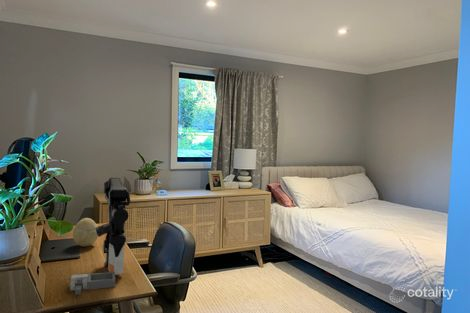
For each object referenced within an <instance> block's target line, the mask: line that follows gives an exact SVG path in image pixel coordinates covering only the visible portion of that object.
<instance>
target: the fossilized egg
mask: <svg viewBox="0 0 470 313" xmlns="http://www.w3.org/2000/svg"><path fill="white" fill-rule="evenodd" d="M96 227H98V224H97V223H96V222H95V220H93V219H92V218H89V217H84V218H82V219H80V220H79V221H78V222H77V223H76V224H75V226H74V228H73V230H72V238H73V241H74V242H75V244H77V245H78V246H80V247H84V248H86V247H90V246H92V245H93V244H95V242H96V241H97V240H98V239H99V237H98V235H97V232H96Z"/></svg>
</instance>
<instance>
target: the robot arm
mask: <svg viewBox="0 0 470 313" xmlns="http://www.w3.org/2000/svg"><path fill="white" fill-rule="evenodd" d="M102 192H103V194H104V199H105V200H106V202H107V203H108V204H107V206H108V207H107V210H108V211H107V212H108V222H107V223H104V224H102V225H99V226H98V225H97V226H98V227H96V232H97V235H98V238H99V237H102V236H103V235H105V237H104V240H103V244H102V253H103V254H106V255H105V262H104V267H105V268H108V262H109V243H110V244H112V245H113V247H114V253H115V257H118V256H119V254H120V251H121V249H122V247H123V245H124V246H125V245H126V242H127V238H126V235H125V233H126V232H125V231H126V230H125V224H126V221H127V220H128V218H129V213H128V210H127V209H126V206H130V203H131V194H130V192H129V190H128V188H126V187H125V186H123V182H122V181H121V178H120V177H108V180H107V181H105V182H104V183H103V189H102Z"/></svg>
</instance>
